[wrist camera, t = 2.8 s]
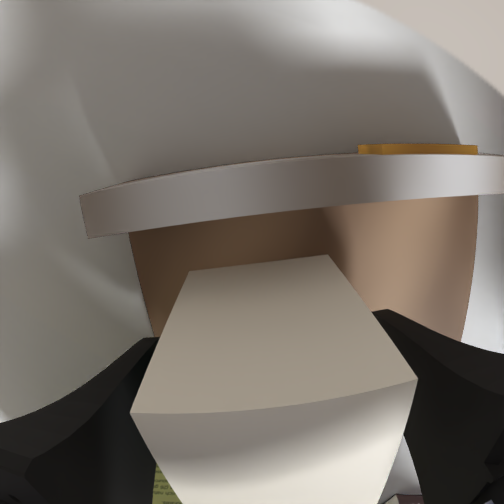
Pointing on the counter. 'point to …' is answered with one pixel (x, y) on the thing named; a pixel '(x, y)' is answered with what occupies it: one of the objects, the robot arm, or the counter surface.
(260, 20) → the counter surface
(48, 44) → the counter surface
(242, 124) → the counter surface
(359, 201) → the brown shallow tray
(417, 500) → the protein powder
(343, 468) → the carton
